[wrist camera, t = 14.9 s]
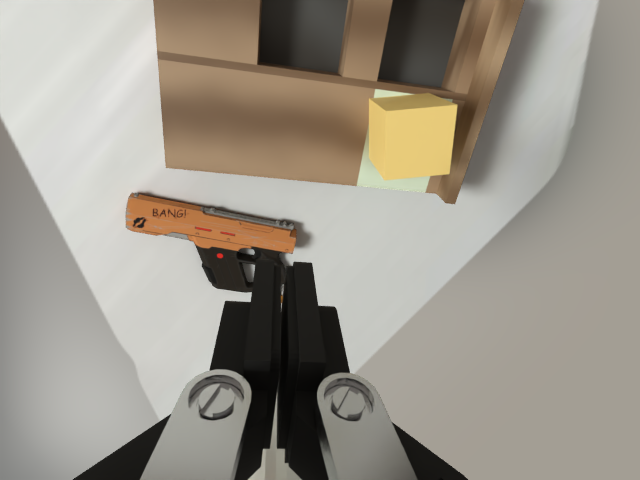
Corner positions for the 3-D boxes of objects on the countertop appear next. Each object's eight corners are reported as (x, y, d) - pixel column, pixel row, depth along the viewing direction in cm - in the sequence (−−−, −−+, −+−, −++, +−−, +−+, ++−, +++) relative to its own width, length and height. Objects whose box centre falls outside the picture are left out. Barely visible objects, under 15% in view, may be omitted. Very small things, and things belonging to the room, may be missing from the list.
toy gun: (125, 288, 35) (125, 198, 30) (133, 274, 37) (134, 186, 32) (281, 311, 38) (305, 233, 33) (281, 296, 40) (304, 220, 35)
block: (424, 153, 29) (449, 174, 25) (369, 158, 29) (384, 180, 25) (429, 93, 27) (457, 104, 22) (369, 98, 27) (385, 111, 22)
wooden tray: (432, 181, 34) (454, 203, 29) (175, 156, 30) (158, 176, 26) (491, -13, 26) (531, -22, 22) (162, -75, 23) (134, -99, 19)
